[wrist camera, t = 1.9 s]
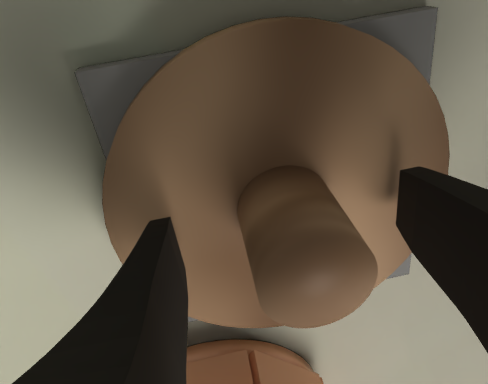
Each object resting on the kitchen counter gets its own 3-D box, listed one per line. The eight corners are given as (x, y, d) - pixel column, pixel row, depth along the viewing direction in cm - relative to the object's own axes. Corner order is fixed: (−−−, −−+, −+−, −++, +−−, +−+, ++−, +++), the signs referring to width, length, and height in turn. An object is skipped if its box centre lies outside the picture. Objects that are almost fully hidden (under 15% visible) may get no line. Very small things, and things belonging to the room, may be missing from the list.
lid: (457, -16, 11) (607, -4, 7) (418, 279, 16) (489, 371, 13) (47, 56, 10) (-27, 110, 6) (157, 337, 16) (152, 451, 12)
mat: (428, 5, 11) (437, 7, 11) (402, 265, 16) (408, 273, 16) (78, 67, 11) (74, 72, 10) (166, 317, 16) (166, 326, 15)
